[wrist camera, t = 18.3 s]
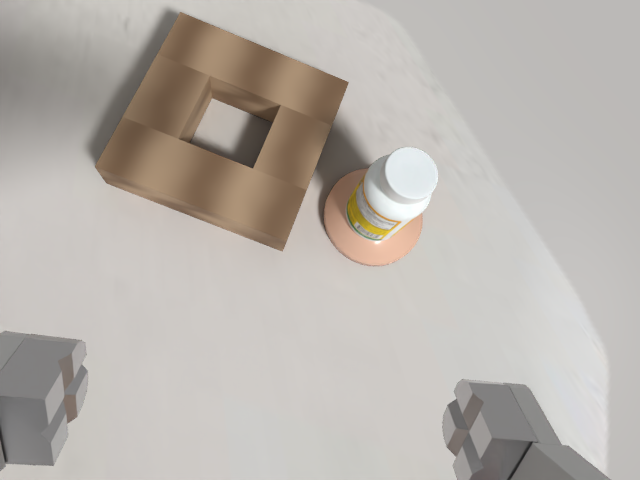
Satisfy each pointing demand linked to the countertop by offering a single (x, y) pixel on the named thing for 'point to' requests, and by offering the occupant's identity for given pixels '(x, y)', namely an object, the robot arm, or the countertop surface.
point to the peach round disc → (353, 243)
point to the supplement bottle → (391, 193)
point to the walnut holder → (209, 168)
